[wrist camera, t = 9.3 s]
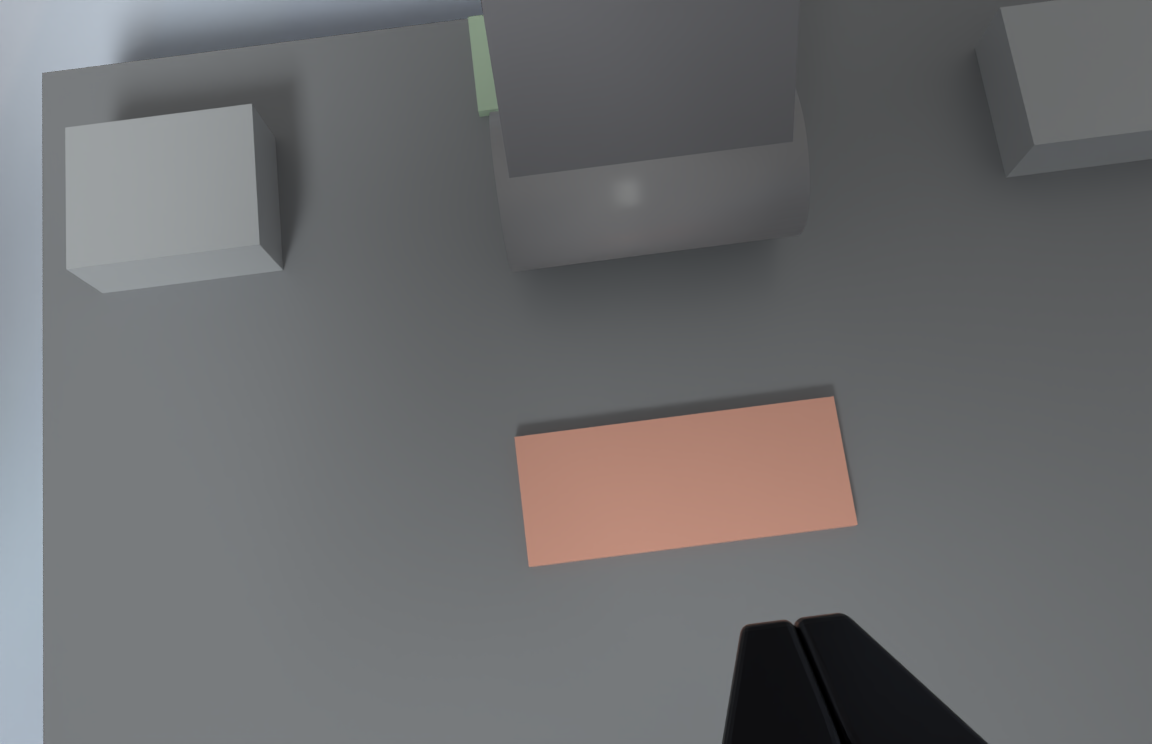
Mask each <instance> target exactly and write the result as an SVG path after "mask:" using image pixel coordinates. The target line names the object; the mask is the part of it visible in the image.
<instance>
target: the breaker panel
mask: <svg viewBox="0 0 1152 744" xmlns="http://www.w3.org/2000/svg"><path fill="white" fill-rule="evenodd" d="M796 91H797V94H798V97H799V100H800V104H801V108H802V112H803V117H804V122H805V128H806V135H807V143H808V153H809V167H810V197H809V209H808V216H807V221H806V225H805V228H804V230H803V232H802V233H801V234H800V235H797V236H789V237H782V238H774V239H766V240H758V241H750V242H743V243H735V244H727V245H719V246H711V247H704V248H696V249H688V250H680V251H672V252H664V253H657V254H649V255H641V256H633V257H625V258H618V259H610V260H602V261H594V262H586V263H579V264H571V265H563V266H555V267H547V268H540V269H532V270H524V271H516V272H511V270H510V266H509V262H508V257H507V252H506V247H505V242H504V236H503V230H502V224H501V217H500V211H499V204H498V197H497V189H496V182H495V174H494V166H493V157H492V148H491V137H490V124H489V113H490V112H495V111H499V110H498V104H497V98H496V91H495V85H494V79H493V73H492V66H491V60H490V54H489V48H488V41H487V35H486V29H485V23H484V17H483V15H478V16H470V17H468V18H467V19H459V20H451V21H443V22H436V23H428V24H420V25H412V26H404V27H397V28H389V29H381V30H373V31H366V32H358V33H350V34H342V35H334V36H327V37H319V38H311V39H303V40H296V41H288V42H280V43H272V44H264V45H257V46H249V47H241V48H233V49H226V50H218V51H210V52H202V53H194V54H187V55H179V56H171V57H163V58H156V59H148V60H140V61H132V62H125V63H117V64H109V65H101V66H93V67H86V68H78V69H70V70H62V71H55V72H47V73H42V155H43V744H722V739H723V733H724V727H725V721H726V715H727V709H728V703H729V696H730V690H731V684H732V678H733V672H734V666H735V660H736V654H737V648H738V642H739V636H740V632H741V629H742V628H743V627H744V626H745V625H747V624H753V623H761V622H768V621H776V620H788V621H790V622H791V623H792V624H793V625H794V623H795V621H797V620H798V619H799V618H801V617H808V616H816V615H824V614H832V613H842V614H845V615H847V616H849V617H850V618H852V619H853V620H854V621H855V622H856V623H857V624H858V625H859V626H860V627H861V628H863V629H864V630H865V631H866V632H867V633H868V634H869V635H870V636H871V637H872V638H874V639H875V640H876V641H877V642H878V643H879V644H880V645H881V646H882V647H883V648H884V649H886V650H887V651H888V652H889V653H890V654H891V655H892V656H893V657H894V658H895V659H896V660H898V661H899V662H900V663H901V664H902V665H903V666H904V667H905V668H906V669H907V670H908V671H910V672H911V673H912V674H913V675H914V676H915V677H916V678H917V679H918V680H919V681H921V682H922V683H923V684H924V685H925V686H926V687H927V688H928V689H929V690H930V691H931V692H933V693H934V694H935V695H936V696H937V697H938V698H939V699H940V700H941V701H942V702H943V703H945V704H946V705H947V706H948V707H949V708H950V709H951V710H952V711H953V712H954V713H955V714H957V715H958V716H959V717H960V718H961V719H962V720H963V721H964V722H965V723H966V724H968V725H969V726H970V727H971V728H972V729H973V730H974V731H975V732H976V733H977V734H978V735H980V736H981V737H982V738H983V739H984V740H985V741H986V742H987V743H988V744H1152V0H800V5H799V26H798V47H797V67H796Z"/></svg>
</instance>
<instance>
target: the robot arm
mask: <svg viewBox="0 0 1152 744" xmlns="http://www.w3.org/2000/svg"><path fill="white" fill-rule="evenodd" d="M722 744H988V743H987V742H986V741H985V740H984V739H983V738H982V737H981V736H980V735H978V734H977V733H976V732H975V731H974V730H973V729H972V728H971V727H970V726H969V725H968V724H966V723H965V722H964V721H963V720H962V719H961V718H960V717H959V716H958V715H957V714H955V713H954V712H953V711H952V710H951V709H950V708H949V707H948V706H947V705H946V704H945V703H943V702H942V701H941V700H940V699H939V698H938V697H937V696H936V695H935V694H934V693H933V692H931V691H930V690H929V689H928V688H927V687H926V686H925V685H924V684H923V683H922V682H921V681H919V680H918V679H917V678H916V677H915V676H914V675H913V674H912V673H911V672H910V671H908V670H907V669H906V668H905V667H904V666H903V665H902V664H901V663H900V662H899V661H898V660H896V659H895V658H894V657H893V656H892V655H891V654H890V653H889V652H888V651H887V650H886V649H884V648H883V647H882V646H881V645H880V644H879V643H878V642H877V641H876V640H875V639H874V638H872V637H871V636H870V635H869V634H868V633H867V632H866V631H865V630H864V629H863V628H861V627H860V626H859V625H858V624H857V623H856V622H855V621H854V620H853V619H852V618H850V617H849V616H847V615H845V614H842V613H832V614H824V615H816V616H808V617H801V618H799V619H798V620H797V621H795V623H794V625H793V624H792V623H791V622H790V621H788V620H776V621H768V622H761V623H753V624H747V625H745V626H744V627H743V628H742V629H741V632H740V636H739V642H738V648H737V654H736V660H735V666H734V672H733V678H732V684H731V690H730V696H729V703H728V709H727V715H726V721H725V727H724V733H723V739H722Z"/></svg>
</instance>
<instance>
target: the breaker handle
mask: <svg viewBox="0 0 1152 744" xmlns="http://www.w3.org/2000/svg"><path fill="white" fill-rule="evenodd" d="M481 4H482V10H483V17H484V23H485V29H486V35H487V41H488V48H489V54H490V60H491V66H492V73H493V79H494V85H495V91H496V98H497V104H498V110H499V111H495V112H490V113H489V124H490V137H491V148H492V157H493V166H494V174H495V182H496V189H497V197H498V204H499V211H500V217H501V224H502V230H503V236H504V242H505V247H506V252H507V257H508V262H509V266H510V270H511V272H516V271H524V270H532V269H540V268H547V267H555V266H563V265H571V264H579V263H586V262H594V261H602V260H610V259H618V258H625V257H633V256H641V255H649V254H657V253H664V252H672V251H680V250H688V249H696V248H704V247H711V246H719V245H727V244H735V243H743V242H750V241H758V240H766V239H774V238H782V237H789V236H797V235H800V234H801V233H802V232H803V230H804V228H805V225H806V221H807V216H808V209H809V197H810V167H809V153H808V143H807V135H806V128H805V122H804V117H803V112H802V108H801V104H800V100H799V97H798V94H797V91H796V67H797V47H798V26H799V5H800V0H481Z"/></svg>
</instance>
